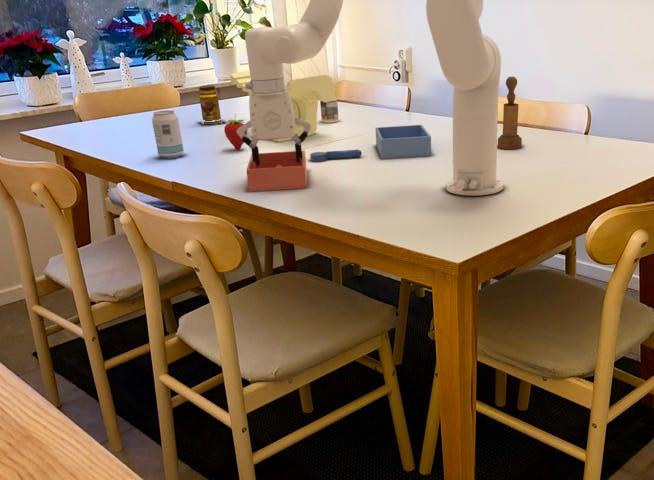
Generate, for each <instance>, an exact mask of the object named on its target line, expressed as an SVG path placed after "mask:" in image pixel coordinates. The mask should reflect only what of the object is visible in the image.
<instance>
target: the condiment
mask: <svg viewBox="0 0 654 480" xmlns="http://www.w3.org/2000/svg"><path fill="white" fill-rule="evenodd" d="M198 90H199V97H198V98H199V104H200V109H201V110H200V111H201V117H202V121H203V120H205V121H212V120H219V119H221V120H222V115H221V109H220V104H219V103H220V102H219V96H218V94H217V91H216V87H215V85H202V86H199V88H198ZM221 120H220V121H215V122H204V124H215V125H218V124H217V123H220V122H221Z"/></svg>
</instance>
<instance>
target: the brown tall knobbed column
mask: <svg viewBox="0 0 654 480" xmlns="http://www.w3.org/2000/svg"><path fill="white" fill-rule="evenodd" d="M517 85H518V78H517V77H515V76H508V77H507V78H506V80H505V86H506V88H507V90H508V93H507V95H506V98H507V103H503V117H502V134H501V135H500V136H499V137H497V149H498V148H499V149H500V150H501V149H502V150H517V149H520V148H522V147H523V144H522V143H523V138H522V137H521V135H519V134H518V128H519V127H518V123H519V107H520V106H519V104H518V103H515V100H516V94H515V89H516V87H517Z"/></svg>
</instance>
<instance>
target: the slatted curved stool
mask: <svg viewBox="0 0 654 480" xmlns="http://www.w3.org/2000/svg"><path fill="white" fill-rule="evenodd" d="M229 77H230V84H231V85H236V88H238V89H242V92H243V93H244V92H245V93H247V95H248V96H250V95H251V94H253V92H252V91H251V90H249V89H246V88H245V83H248V82H250V81H251V77H250V70H248V71H240V72H234V73H230V74H229ZM284 81H285V89H286V91H288V92H289V94H290V97H291V101H292V106H293V111H294V117H297V118H299V119H301V120H303V121H306V122H308V123H310V124H311V128H310V130H309V133H308V135H307V137H308V136H312V135H314V134H315V133H316V131H317V126H318V109H319V102H320V101H322V102H330V101H335V100H336V99H335V97H336V88H335V83H334V80H333V78H332V77H331V76H330V75H327V74H321V75H314V76H309V77H302V78H296V79H290V80H289V81H288V82H287V81H286V80H284ZM303 131H304V127H302V126H300V125H298V124H296V134H297V135H298V136H300V135H301V134H302V133H303ZM289 140H293V139H292V138H285V139H273V140H272V141H274V142H278V143H279V142H285V141H289Z"/></svg>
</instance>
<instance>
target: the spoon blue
mask: <svg viewBox="0 0 654 480" xmlns="http://www.w3.org/2000/svg"><path fill="white" fill-rule="evenodd" d="M362 155H363V153H362V150H360V149H347V150H329V151H325V152H324V151H316V152H311V153H310V154H309V158H310V161H311V162H315V163H321V162H326V161H327V160H338V159H340V160H341V159H352V158H353V159H354V158H355V159H356V158H361V157H362Z"/></svg>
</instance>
